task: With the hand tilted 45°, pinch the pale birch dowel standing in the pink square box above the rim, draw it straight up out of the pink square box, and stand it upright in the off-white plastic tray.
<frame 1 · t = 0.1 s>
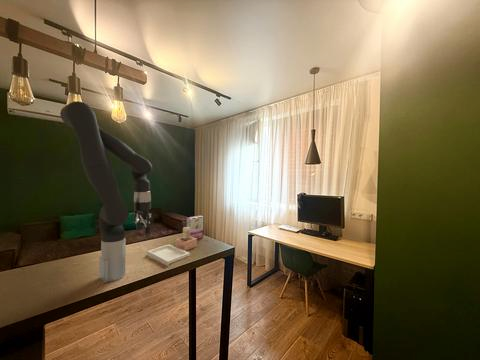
hand: (143, 232, 99), 17 cm above the table, tool pointing down, fingers open, 8 cm apart
tray: (168, 256, 111), on the table
candy bar box: (194, 239, 139), on the table
pink square box: (186, 248, 123), on the table
birch dowel: (186, 246, 123), point 1 cm above the table, touching pink square box
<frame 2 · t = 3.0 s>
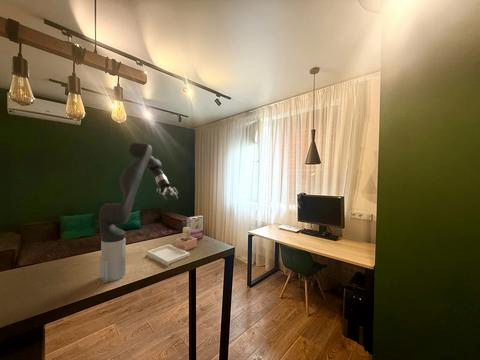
hand: (171, 200, 132), 29 cm above the table, tool tilted 45°, fingers open, 8 cm apart
nothing on the table moved.
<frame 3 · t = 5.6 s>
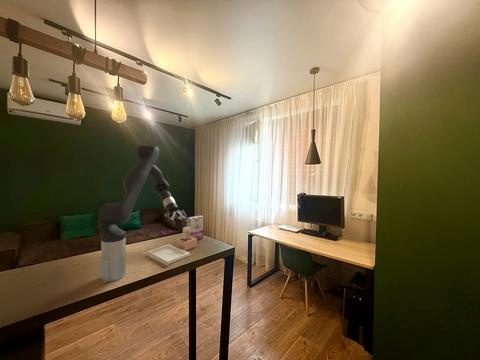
hand: (180, 225, 126), 14 cm above the table, tool tilted 45°, fingers open, 8 cm apart
nothing on the table moved.
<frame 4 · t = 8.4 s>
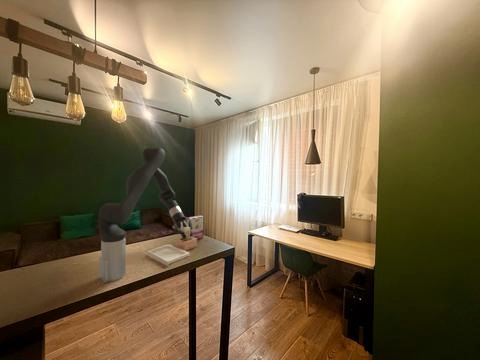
hand: (188, 237, 122), 8 cm above the table, tool tilted 45°, fingers closed on birch dowel, 4 cm apart
birch dowel: (186, 246, 123), point 1 cm above the table, touching gripper, pink square box
everything else where it was.
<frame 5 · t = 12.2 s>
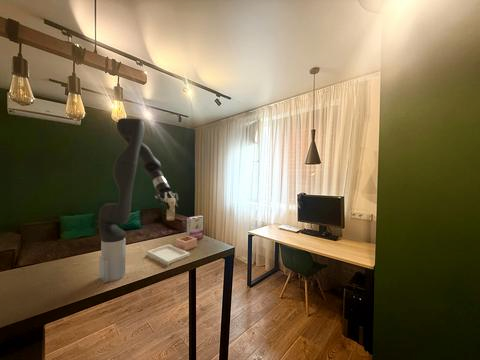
hand: (172, 208, 109), 28 cm above the table, tool tilted 45°, fingers closed on birch dowel, 4 cm apart
birch dowel: (170, 219, 111), point 21 cm above the table, touching gripper
everything else where it was.
when the fingers open (9 cm above the table, at t = 16.1 s): birch dowel stays where it is, resting on tray.
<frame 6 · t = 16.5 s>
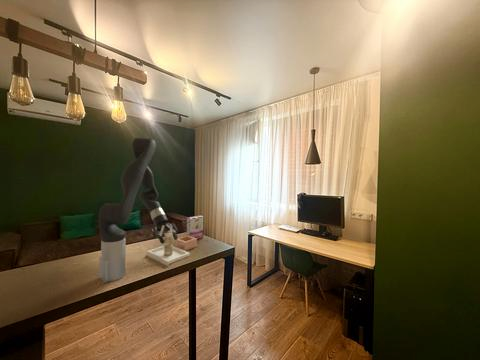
hand: (170, 241, 110), 9 cm above the table, tool tilted 45°, fingers open, 8 cm apart
birch dowel: (168, 254, 111), point 1 cm above the table, touching tray
everything else where it was.
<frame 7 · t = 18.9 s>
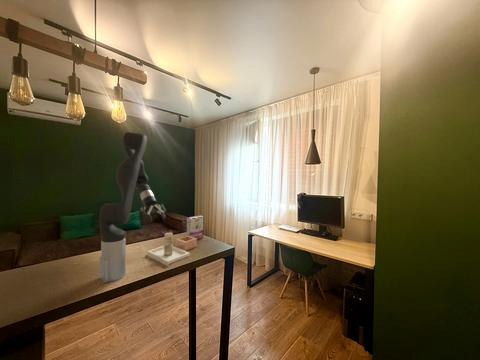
hand: (158, 219, 117), 19 cm above the table, tool tilted 45°, fingers open, 8 cm apart
nothing on the table moved.
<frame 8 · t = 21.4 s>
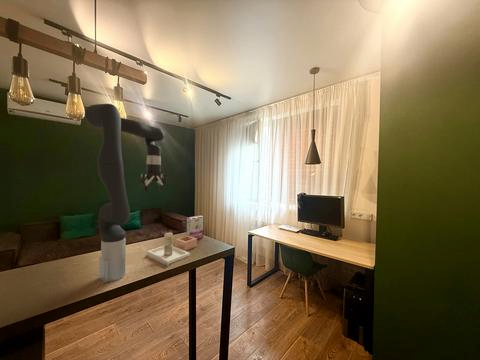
hand: (153, 192, 112), 36 cm above the table, tool pointing down, fingers open, 8 cm apart
nothing on the table moved.
at the end: birch dowel inside the target area on the tray (0.1 cm from its centre), point 1.0 cm above the tray's base; birch dowel tilted 0°; the gripper is holding nothing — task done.
